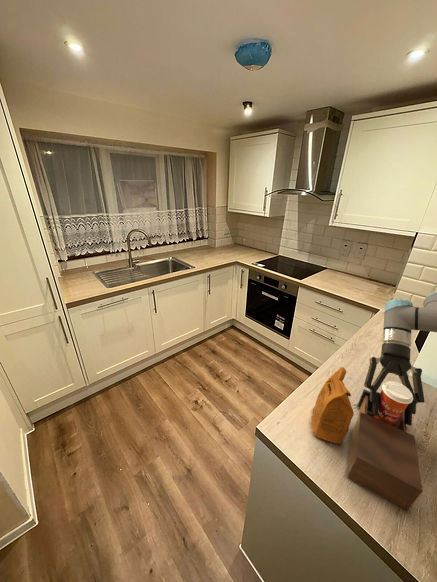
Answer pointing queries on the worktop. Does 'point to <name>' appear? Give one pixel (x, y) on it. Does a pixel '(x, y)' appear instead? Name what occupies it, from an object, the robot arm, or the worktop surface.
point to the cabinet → (385, 461)
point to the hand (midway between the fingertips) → (391, 419)
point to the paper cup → (393, 402)
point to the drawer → (367, 406)
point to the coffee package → (332, 409)
